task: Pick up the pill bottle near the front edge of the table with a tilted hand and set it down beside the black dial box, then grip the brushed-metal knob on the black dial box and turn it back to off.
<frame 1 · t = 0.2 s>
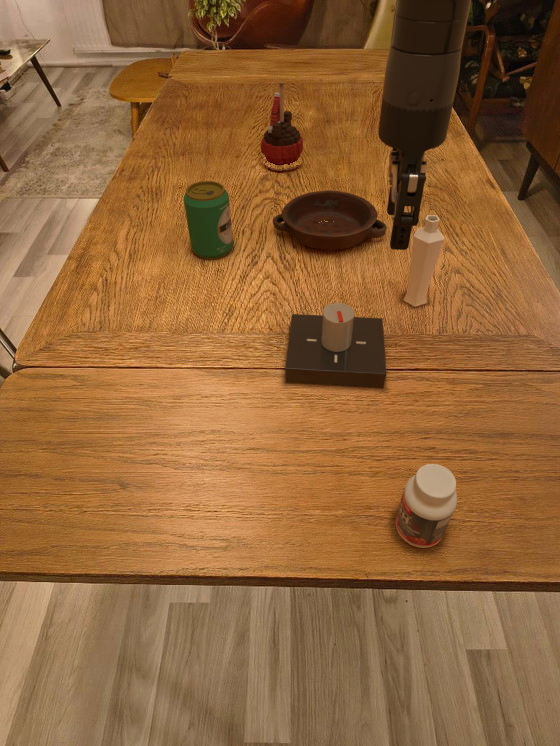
hand: (396, 230, 66), 19 cm above the table, tool pointing down, fingers open, 8 cm apart
pill bottle: (418, 527, 58), on the table
beverage can: (212, 250, 99), on the table
dish: (328, 234, 102), on the table
stove knob: (337, 326, 73), point 6 cm above the table, hinge at 100.0°
cake: (282, 165, 124), on the table
black dial box: (335, 356, 77), on the table
perfume bottle: (413, 300, 87), on the table
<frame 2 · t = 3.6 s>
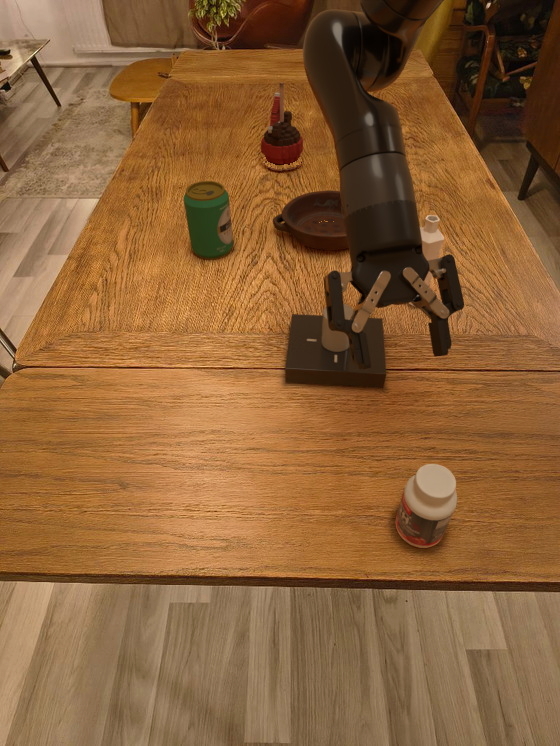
hand: (403, 362, 54), 16 cm above the table, tool tilted 45°, fingers open, 8 cm apart
nothing on the table moved.
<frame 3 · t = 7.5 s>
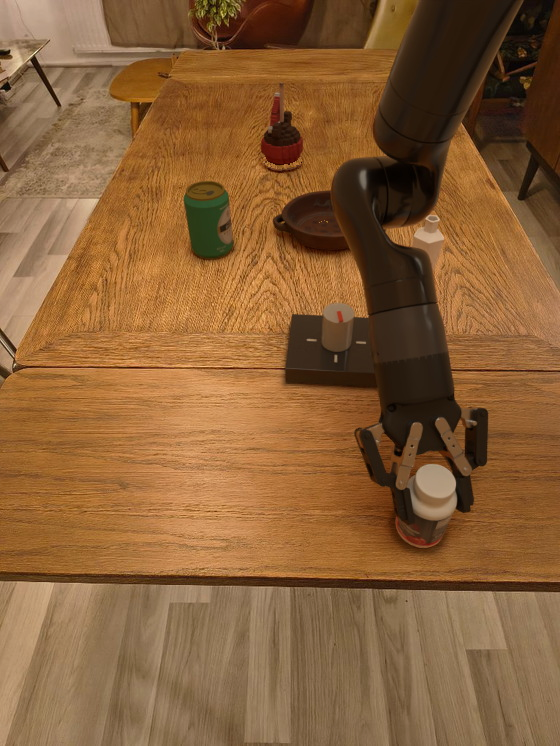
hand: (435, 516, 53), 6 cm above the table, tool tilted 45°, fingers closed on pill bottle, 5 cm apart
pill bottle: (418, 527, 58), on the table, touching gripper
everything else where it was.
when the fingers open (6 cm above the table, at t = 14.1 s): pill bottle stays where it is, on the table.
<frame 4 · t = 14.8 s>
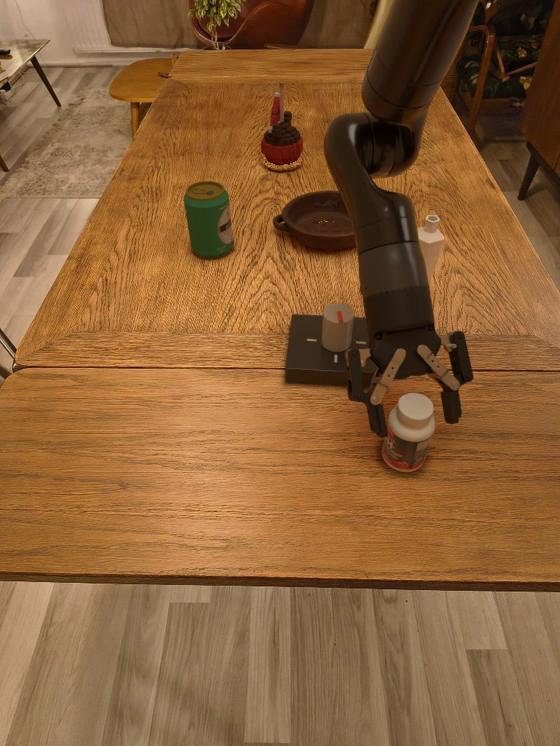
hand: (417, 429, 59), 7 cm above the table, tool tilted 45°, fingers open, 8 cm apart
pill bottle: (402, 456, 65), on the table
everything else where it was.
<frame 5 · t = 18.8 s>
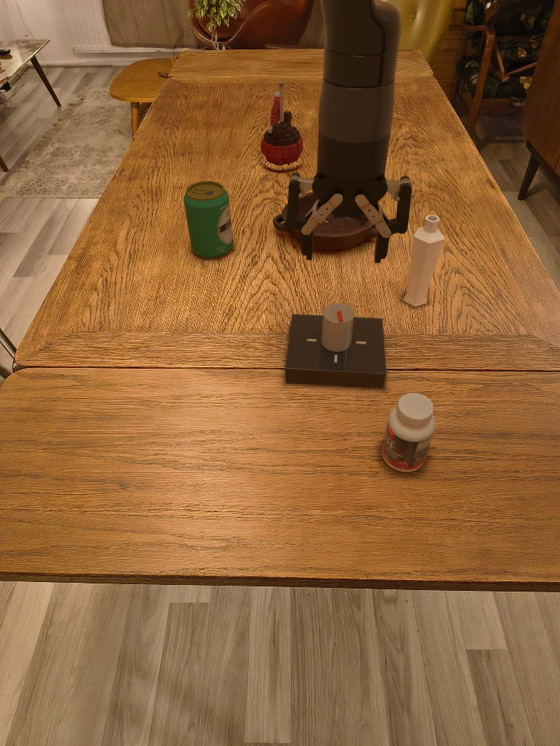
hand: (343, 258, 65), 17 cm above the table, tool pointing down, fingers open, 8 cm apart
nothing on the table moved.
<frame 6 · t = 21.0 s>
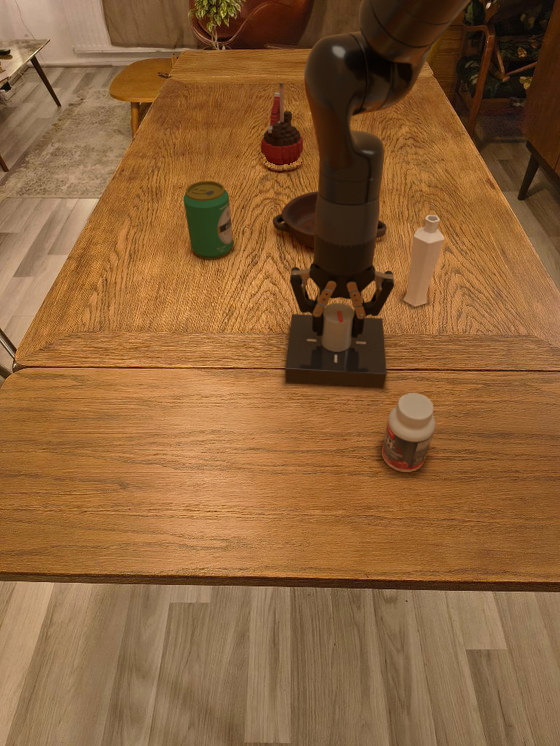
hand: (337, 332, 74), 5 cm above the table, tool pointing down, fingers closed on stove knob, 4 cm apart
stove knob: (337, 326, 73), point 6 cm above the table, hinge at 100.0°, touching gripper
everything else where it was.
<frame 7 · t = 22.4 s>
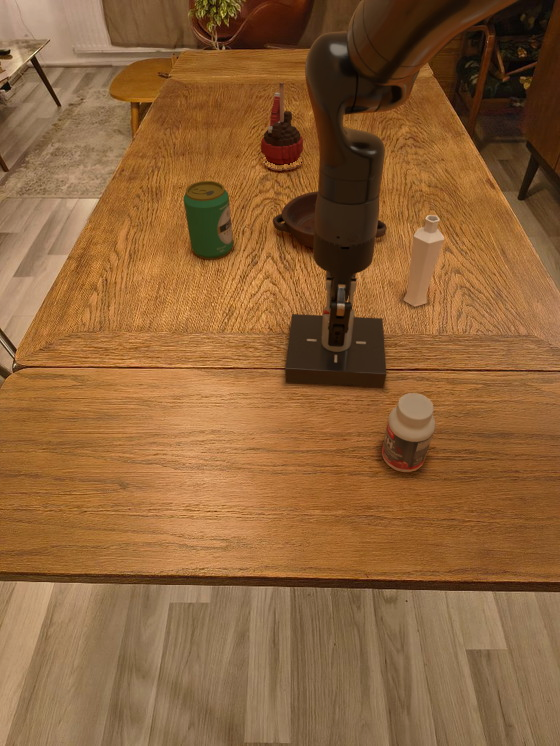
hand: (335, 332, 74), 5 cm above the table, tool pointing down, fingers closed on stove knob, 4 cm apart
stove knob: (337, 326, 73), point 6 cm above the table, hinge at 7.0°, touching gripper
everything else where it was.
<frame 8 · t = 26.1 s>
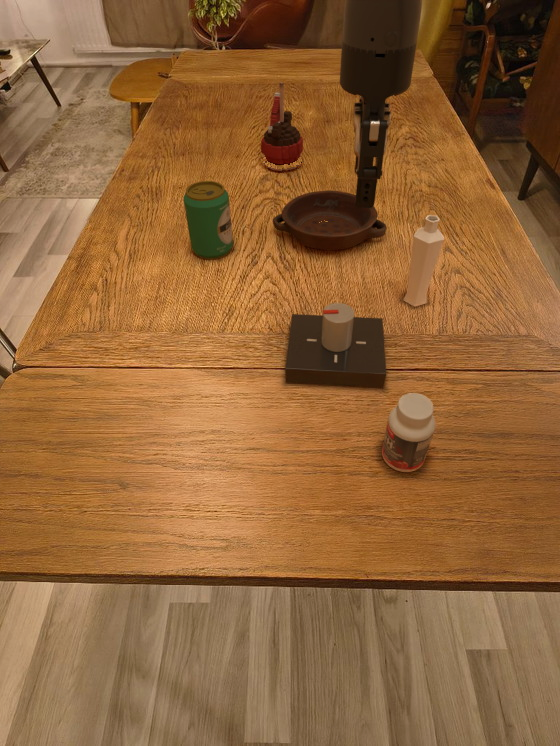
hand: (363, 189, 64), 24 cm above the table, tool pointing down, fingers open, 8 cm apart
stove knob: (337, 326, 73), point 6 cm above the table, hinge at 7.4°
everything else where it was.
at the end: stove knob at +7° (first picture: +100°); pill bottle inside the target area (0.2 cm from its centre), on the table; pill bottle tilted 0° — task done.
